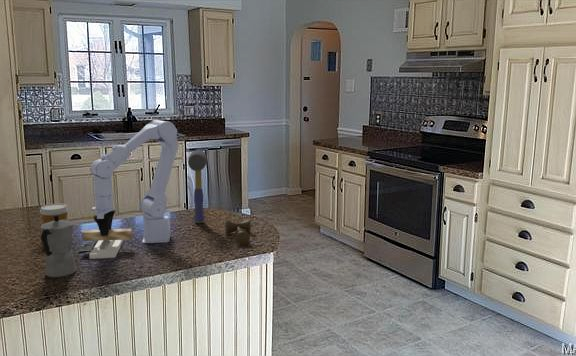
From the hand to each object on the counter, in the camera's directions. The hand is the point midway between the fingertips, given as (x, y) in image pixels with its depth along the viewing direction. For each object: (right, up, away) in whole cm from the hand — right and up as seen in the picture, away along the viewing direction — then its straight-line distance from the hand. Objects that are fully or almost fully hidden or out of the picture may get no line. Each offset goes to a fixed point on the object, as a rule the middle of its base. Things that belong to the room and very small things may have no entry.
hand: (106, 233), depth 167 cm
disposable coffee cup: (-23, -3, +13) cm, 27 cm away
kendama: (+44, -4, +18) cm, 48 cm away
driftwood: (-9, -5, +9) cm, 13 cm away
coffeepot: (-7, -10, -19) cm, 23 cm away
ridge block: (0, -6, +1) cm, 6 cm away
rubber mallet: (+26, 0, +34) cm, 43 cm away
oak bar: (0, -2, 0) cm, 2 cm away
